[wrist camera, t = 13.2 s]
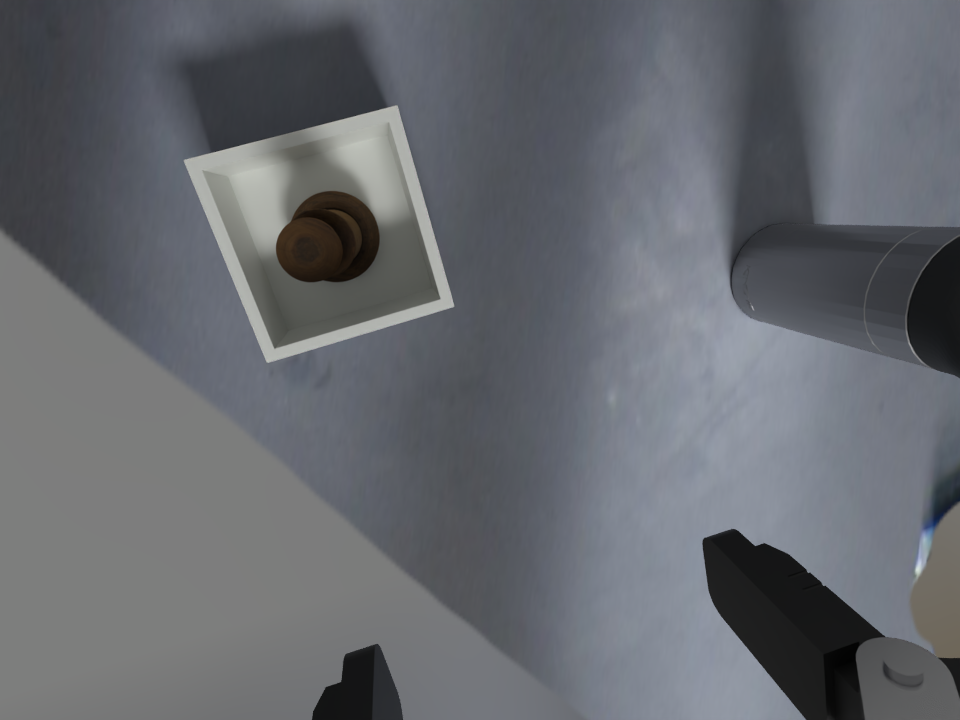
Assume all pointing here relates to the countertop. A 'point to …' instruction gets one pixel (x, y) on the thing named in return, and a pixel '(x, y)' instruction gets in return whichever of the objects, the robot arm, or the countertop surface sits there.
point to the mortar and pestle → (329, 239)
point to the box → (270, 207)
